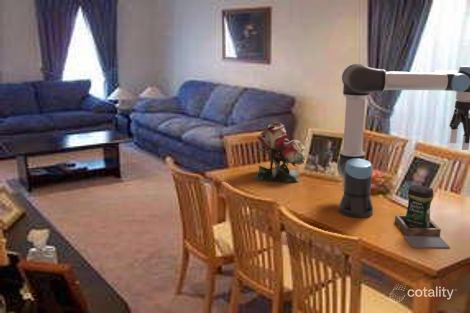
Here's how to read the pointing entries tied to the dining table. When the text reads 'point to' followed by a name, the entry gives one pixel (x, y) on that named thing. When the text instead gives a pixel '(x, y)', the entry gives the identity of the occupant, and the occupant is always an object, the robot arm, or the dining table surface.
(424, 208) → the coffee jar
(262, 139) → the rose bouquet
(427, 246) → the slate mat
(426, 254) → the dining table surface
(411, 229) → the holder frame
